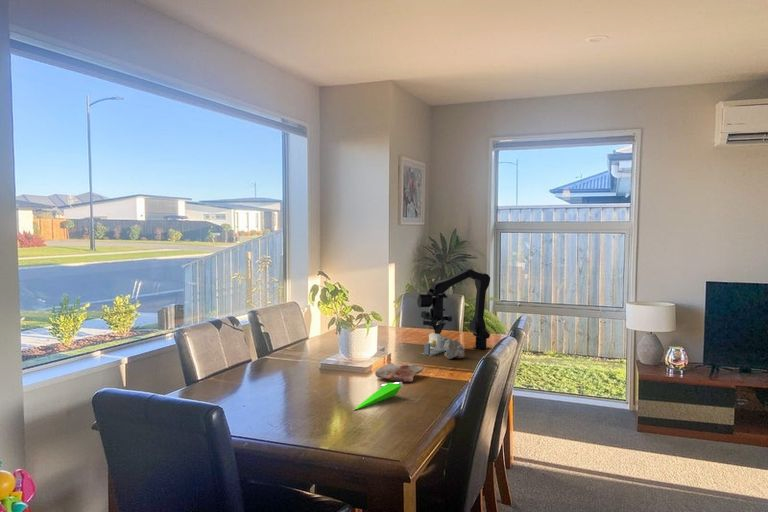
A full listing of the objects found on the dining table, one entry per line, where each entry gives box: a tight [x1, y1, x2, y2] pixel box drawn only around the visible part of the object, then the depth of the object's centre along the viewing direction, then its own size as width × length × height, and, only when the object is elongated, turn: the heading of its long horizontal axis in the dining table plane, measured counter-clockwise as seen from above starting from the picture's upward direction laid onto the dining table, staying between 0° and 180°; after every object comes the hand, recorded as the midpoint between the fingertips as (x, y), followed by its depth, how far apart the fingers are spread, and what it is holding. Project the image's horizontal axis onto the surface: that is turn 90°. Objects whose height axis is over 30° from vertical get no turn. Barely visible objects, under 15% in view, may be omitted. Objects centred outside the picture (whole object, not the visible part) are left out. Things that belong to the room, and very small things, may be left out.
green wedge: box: [354, 381, 404, 410], centre depth 207 cm, size 11×5×25 cm
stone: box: [374, 362, 425, 383], centre depth 238 cm, size 20×6×15 cm
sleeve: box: [428, 332, 442, 350], centre depth 286 cm, size 3×5×7 cm, turn 52°
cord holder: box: [421, 336, 452, 357], centre depth 288 cm, size 19×6×7 cm, turn 142°
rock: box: [443, 338, 465, 360], centre depth 274 cm, size 9×12×10 cm
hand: (437, 336), depth 288 cm, fingers closed
